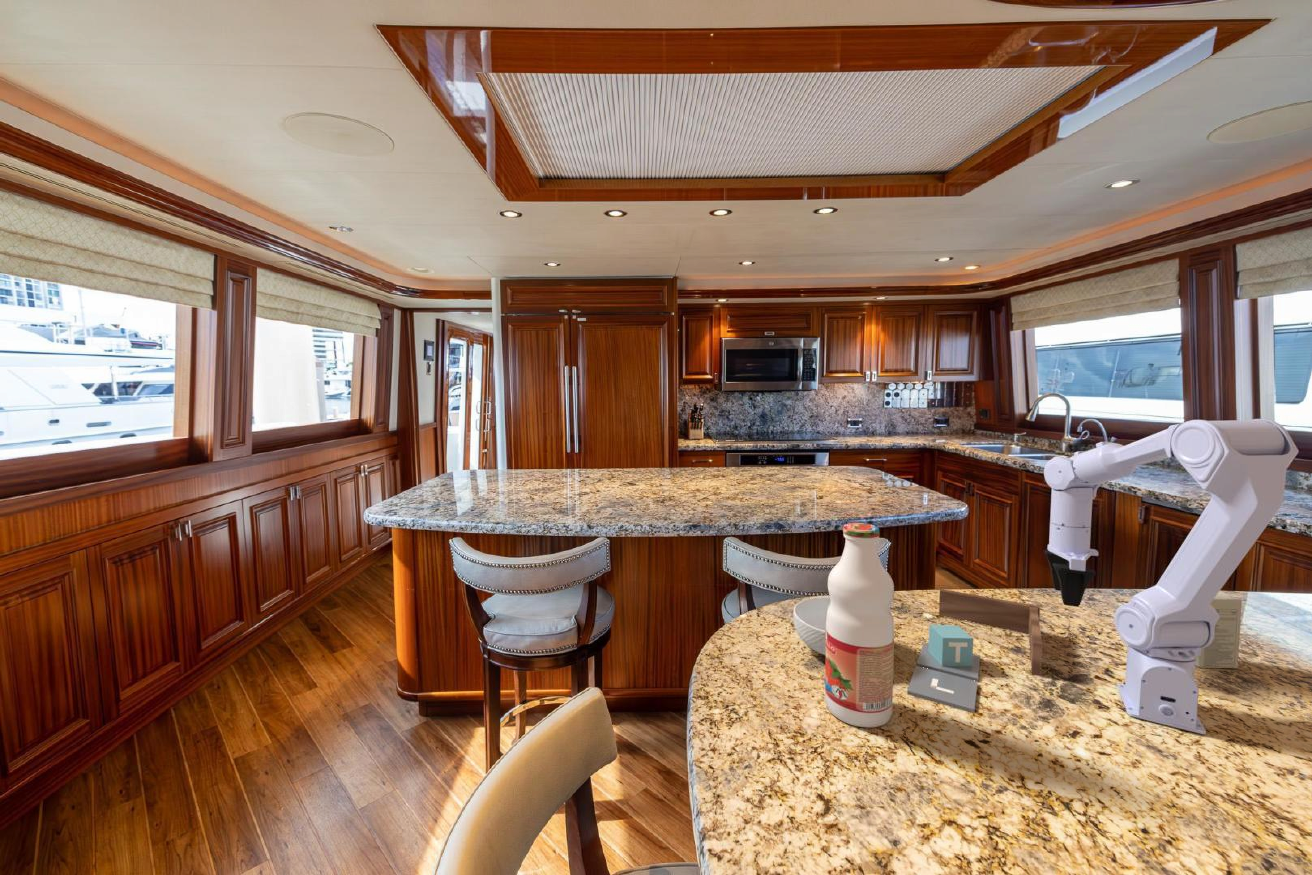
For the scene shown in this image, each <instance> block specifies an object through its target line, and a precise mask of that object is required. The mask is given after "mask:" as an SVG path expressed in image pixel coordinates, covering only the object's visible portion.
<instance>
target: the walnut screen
mask: <svg viewBox="0 0 1312 875" xmlns="http://www.w3.org/2000/svg"><path fill="white" fill-rule="evenodd" d="M938 605H939V606H938V607H939V609H938V611H939V612H938V617H942V616H946V617H945V618H947V617H951V618H950V619H952V618H955V619H954V620H957V619H958V620H957V621H962V620H967V621H971V622H970V623H972V622H975V623H974V624H977V623H979V624H978V625H982V624H986V625H985V626H987V625H990V626H989V627H991V626H994V627H993V628H996V627H998V629H1001V628H1002V630H1006V629H1009V630H1008V631H1011V630H1013V631H1012V632H1016V631H1017V632H1016V633H1021V634H1026V633H1027V634H1029V635H1028V644H1029V645H1028V646H1030V647H1029V656H1030V668H1031V671H1030V672H1031V675H1034V676H1038V677H1041V676H1042V658H1043V657H1042V656H1043V640H1042V633H1041V624H1040V615H1041V614H1040V613H1041V607H1040V606H1039V605H1035V604H1034V605H1033V604H1028V603H1022V602H1017V601H1011V600H1005V599H999V598H993V597H988V596H982V595H977V594H972V593H965V592H960V591H955V590H949V589H948V590H947V589H942V588H940V589H939V604H938ZM959 619H960V620H959ZM967 621H966V622H967ZM1027 634H1026V635H1027Z"/></svg>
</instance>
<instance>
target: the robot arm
mask: <svg viewBox="0 0 1312 875" xmlns="http://www.w3.org/2000/svg"><path fill="white" fill-rule="evenodd" d="M1095 446H1096V447H1095V448H1091V449H1089V450H1086V451H1084V450H1082V451H1081V450H1079V451H1076V452H1074V453H1073V455H1072V456H1071V457H1062V456H1054V457H1052V458H1051V459H1049V460H1048V461H1047V462H1046V463H1045V465H1044V469H1043V476H1044V477H1043V478H1044V480H1045V482H1046V484H1047V485H1048V487H1050V488H1051V496H1050V498H1051V499H1050V501H1051V502H1050V519H1049V537H1048V538H1049V539H1048V541H1049V542H1048V544H1047V548H1046V550H1043V553H1044V555H1045V557H1046V559H1047V561H1048V565H1049V567H1050V571H1051V577H1052V582H1053V588H1054V590H1055V591H1059V592H1060V594H1061V600H1062V604H1063V605H1064V606H1070V607H1077V608H1079V607H1080V605H1081V603H1082V600H1083V598H1084V594H1085V591H1086V589H1087V587H1088V585H1089V583H1090V582H1091V581H1092V579H1094V578H1095V577H1096V573H1097V572H1096V570H1095V569H1093V568H1091V569H1090V568H1086V564H1087V560H1089V558H1090V557H1091V556H1095V557H1098V556H1099V551H1098V550H1097V549H1094V548H1091V532H1092V530H1091V528H1092V511H1093V500H1095V498H1097V491H1098V489H1099V488H1100V487H1101V485H1102V484H1104V483H1108V482H1112V481H1115V480H1116V481H1117V480H1119V479H1123V478H1126V477H1129V476H1131V475H1133V473H1134V472H1135V470H1136V468H1137V466H1141V465H1145V464H1149V463H1153V462H1157V461H1161V460H1165V459H1177V461H1178V462H1179V464H1180V465H1181V466H1182V467H1183V468H1184V469H1185V470H1186V471H1187V473H1188V474H1189V475H1190V476H1191V477H1192V479H1194V480H1195V482H1196V483H1197V484H1198V485H1199V486H1200V487H1201V489H1202V490H1204V491H1206V492H1208V493H1209V495H1210V496H1211V499H1210V500H1209V502H1208V504H1207V505H1206V506H1205V508H1204V510H1203V511H1202V513H1201V514H1200V516H1199V518H1198V519H1197V521H1196V522H1195V524H1194V525H1193V527H1192V529H1191V530H1190V532H1189V533H1188V535H1187V536H1186V538H1185V539H1184V541H1183V542H1182V543H1181V546H1180V547H1179V549H1178V551H1177V552H1176V553H1175V555H1174V557H1173V558H1172V559H1171V561H1170V563H1169V565H1168V566H1167V567H1166V569H1165V570H1164V572H1163V574H1162V575H1161V577H1160V578H1159V580H1158V582H1157V583H1156V584H1155V585H1152V586H1151V587H1149V588H1146V589H1144V590H1142V591H1140V592H1138V593H1135V594H1133V596H1132V598H1131V599H1130V600H1129V601H1128V602H1127V603H1124V604H1122V605H1119V607H1118V608H1117V609H1116V610H1115V613H1114V616H1113V622H1114V627H1115V629H1116V632H1117V634H1118V635H1119V637H1120V638H1121V639H1122V642H1123V643H1124V644H1125V645H1127V650H1126V651H1127V652H1126V669H1125V680H1124V681H1125V683H1121V682H1120V683H1117V689H1118V693H1119V694H1120V698H1121V700H1122V702H1123V705H1124V708H1125V710H1126V713H1127V715H1128V716H1130V717H1133V718H1137V719H1140V720H1145V721H1150V722H1152V723H1157V724H1161V725H1164V726H1170V727H1173V728H1177V729H1180V730H1185V731H1188V732H1192V733H1196V734H1200V735H1206V734H1207V731H1206V729H1205V727H1204V725H1203V723H1202V721H1201V720H1200V718H1199V716H1198V705H1199V695H1200V694H1199V686H1198V683H1197V682H1196V680H1195V679H1196V678H1195V677H1196V656H1201V648H1205V647H1207V646H1209V645H1210V644H1211V643H1212V642H1213V639H1214V629H1215V625H1216V622H1217V621H1218V620H1219V618H1220V615H1219V614H1218V613H1217V611H1216V610H1215V609H1214V608H1213V606H1212V605H1211V604H1210V603H1211V602H1212V601H1213V599H1214V598H1215V596H1216V595H1217V594H1218V592H1219V591H1221V590H1222V588H1223V587H1224V586H1225V584H1226V582H1227V581H1228V580H1229V578H1230V577H1231V576H1232V574H1233V573H1234V572H1235V571H1236V570H1237V567H1238V566H1239V565H1240V563H1241V562H1242V561H1243V560H1244V558H1245V556H1246V555H1247V554H1248V552H1249V551H1250V550H1251V549H1252V547H1253V545H1254V544H1255V543H1256V542H1257V540H1258V539H1259V537H1260V536H1261V534H1262V533H1263V532H1264V531H1265V529H1266V528H1267V526H1268V525H1269V523H1270V522H1271V521H1272V520H1273V519H1274V517H1275V515H1276V514H1277V513H1278V511H1279V510H1280V509H1281V507H1282V504H1283V503H1284V498H1285V497H1284V496H1285V495H1284V494H1285V487H1286V478H1287V477H1286V476H1287V469H1288V468H1289V466H1290V465H1291V463H1293V460H1294V459H1295V458H1296V457H1297V455H1298V454H1299V452H1300V451H1299V449H1298V447H1297V446H1296V444H1295V442H1294V441H1293V438H1292V437H1291V435H1290V434H1289V432H1288V430H1287V429H1286V428H1285V427H1284V426H1283V425H1281V424H1280V423H1278V422H1277V421H1274V420H1271V419H1266V418H1254V419H1244V420H1243V419H1242V420H1241V419H1239V420H1238V419H1237V420H1206V419H1192V420H1187V421H1185V422H1184V423H1183V422H1182V423H1177V424H1173V425H1169V427H1168V428H1167V429H1164V430H1161V431H1159V432H1156V433H1153V434H1151V435H1149V436H1146V437H1144V438H1141V439H1139V440H1136V441H1133V442H1130V443H1129V444H1126V445H1123V444H1120V443H1115V442H1110V441H1100V442H1098V443H1096V444H1095Z"/></svg>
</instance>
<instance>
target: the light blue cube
mask: <svg viewBox="0 0 1312 875" xmlns="http://www.w3.org/2000/svg"><path fill="white" fill-rule="evenodd" d="M928 643H929V653H930V654H931V655H932V656H933V657H934V658H935V659H936V660H937V661H938V662H939V663H940V664H941V666H964V667H972V660H973V654H974V653H973V652H974V637H972V636H971V635H970V634H969V633H968V632H966V631H965V630H964V629H963V628H962V626H959V625H957V624H956V625H952V624H929V626H928Z"/></svg>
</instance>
